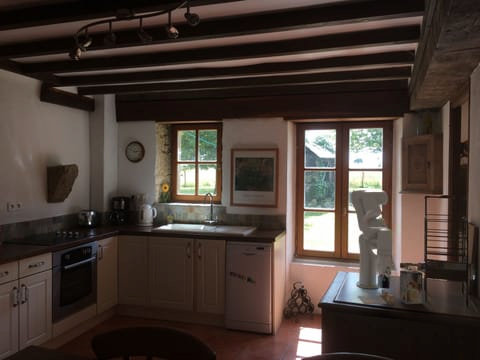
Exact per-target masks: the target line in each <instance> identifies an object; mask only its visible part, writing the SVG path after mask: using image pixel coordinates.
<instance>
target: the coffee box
mask: <svg viewBox="0 0 480 360" xmlns="http://www.w3.org/2000/svg"><path fill="white" fill-rule="evenodd" d="M399 301H400V302H402V303H404V304H406V305H414V304H416V305H417V304H422V303H423V272H422V271H419V270H415V269H412V270H411V269H409V270H399Z"/></svg>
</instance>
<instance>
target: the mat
mask: <svg viewBox="0 0 480 360" xmlns="http://www.w3.org/2000/svg"><path fill="white" fill-rule="evenodd" d="M357 298H359V300H361V302H362V303H363V304H370V305H371V304H373V305H375V304H376V305H377V304H378V305H381V304H382V305H387V304H388V302H387V301H386V300H384V299H383V298H382V296H379V295H377V296H376V295H357Z"/></svg>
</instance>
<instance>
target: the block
mask: <svg viewBox="0 0 480 360" xmlns="http://www.w3.org/2000/svg"><path fill="white" fill-rule="evenodd" d="M385 277H386V276H385ZM382 281H383V276H381V275H379V274H378V275H377V284H378V289H383V288H382ZM389 289H391V277H390V278H389Z"/></svg>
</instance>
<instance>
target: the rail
mask: <svg viewBox="0 0 480 360" xmlns="http://www.w3.org/2000/svg"><path fill="white" fill-rule="evenodd" d="M381 298H382V299H383V300H385V301H386V302H387V304H388V305H395V301H394V300H395V297H394V295H393V294H391V293H390V292H389V291H388V290H387V289H384V288H381Z"/></svg>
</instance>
